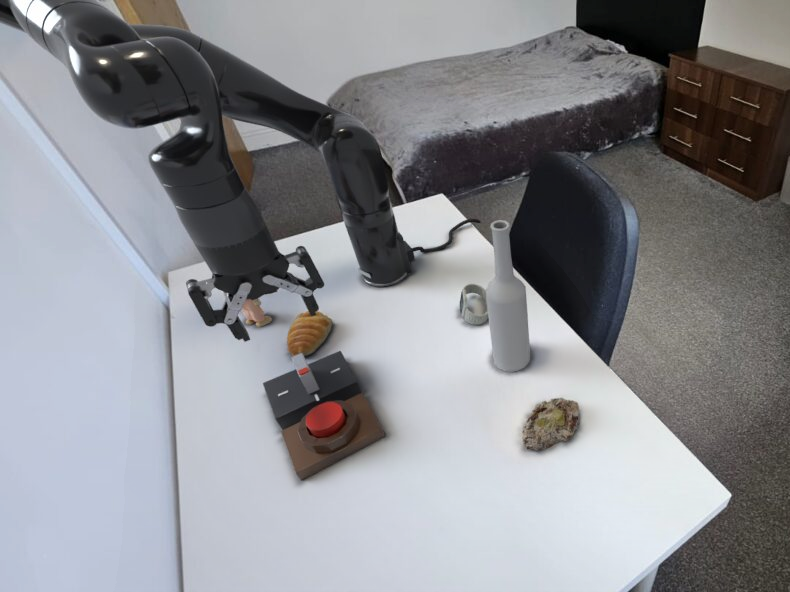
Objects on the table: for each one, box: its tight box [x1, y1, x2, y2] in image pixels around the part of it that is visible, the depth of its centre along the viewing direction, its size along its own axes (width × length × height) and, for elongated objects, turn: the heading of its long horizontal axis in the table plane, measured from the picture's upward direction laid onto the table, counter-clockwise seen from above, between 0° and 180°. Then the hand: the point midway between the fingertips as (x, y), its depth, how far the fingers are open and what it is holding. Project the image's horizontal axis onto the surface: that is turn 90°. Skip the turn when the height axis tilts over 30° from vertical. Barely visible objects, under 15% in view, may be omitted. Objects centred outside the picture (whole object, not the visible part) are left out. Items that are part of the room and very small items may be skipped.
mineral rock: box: [522, 397, 580, 451], centre depth 73 cm, size 11×4×8 cm
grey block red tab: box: [291, 353, 319, 394], centre depth 74 cm, size 5×2×4 cm, turn 38°
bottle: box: [485, 219, 531, 373], centre depth 76 cm, size 7×7×28 cm
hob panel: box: [262, 350, 363, 431], centre depth 76 cm, size 12×9×3 cm
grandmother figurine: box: [222, 291, 273, 328], centre depth 85 cm, size 8×4×13 cm, turn 84°
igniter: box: [280, 392, 386, 481], centre depth 70 cm, size 12×8×4 cm
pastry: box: [286, 310, 333, 357], centre depth 85 cm, size 9×7×4 cm
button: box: [306, 402, 346, 438], centre depth 68 cm, size 5×5×2 cm
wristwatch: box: [459, 283, 489, 326], centre depth 92 cm, size 9×6×5 cm
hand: (280, 324), depth 67 cm, fingers open, 8 cm apart
